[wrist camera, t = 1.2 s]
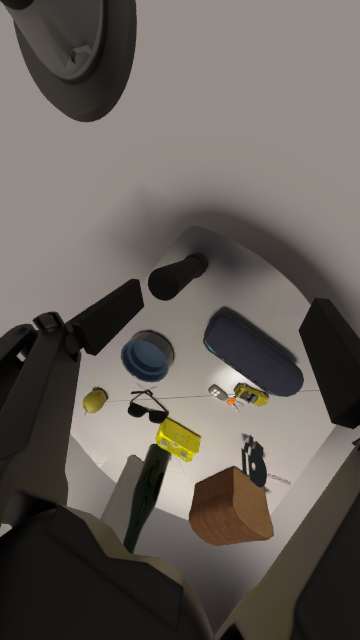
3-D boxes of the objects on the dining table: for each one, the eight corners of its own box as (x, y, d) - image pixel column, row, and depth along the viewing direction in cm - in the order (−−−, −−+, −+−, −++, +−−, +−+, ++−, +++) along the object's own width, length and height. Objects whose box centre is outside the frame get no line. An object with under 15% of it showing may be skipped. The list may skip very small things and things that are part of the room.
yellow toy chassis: (161, 421, 68) (153, 443, 61) (166, 415, 65) (158, 436, 58) (194, 441, 68) (190, 465, 60) (201, 435, 65) (197, 459, 58)
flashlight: (203, 249, 38) (184, 258, 40) (171, 252, 16) (134, 273, 18) (211, 269, 39) (192, 278, 41) (191, 297, 18) (154, 312, 20)
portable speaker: (199, 329, 46) (192, 349, 37) (221, 303, 42) (220, 318, 33) (269, 380, 47) (278, 411, 38) (299, 360, 42) (318, 389, 34)
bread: (192, 482, 81) (185, 532, 67) (231, 463, 67) (232, 521, 53) (222, 502, 81) (221, 555, 67) (267, 487, 67) (278, 551, 53)
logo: (271, 436, 52) (267, 480, 44) (291, 466, 57) (291, 511, 49) (223, 425, 63) (214, 458, 56) (244, 451, 68) (237, 485, 61)
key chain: (207, 389, 54) (206, 392, 53) (214, 383, 53) (214, 386, 51) (238, 411, 55) (238, 415, 54) (246, 406, 53) (246, 410, 52)
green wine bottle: (171, 460, 78) (138, 586, 49) (151, 454, 81) (108, 571, 52) (169, 446, 74) (132, 576, 45) (148, 441, 77) (100, 560, 48)
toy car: (262, 404, 51) (264, 413, 48) (232, 391, 52) (232, 398, 49) (271, 394, 49) (273, 402, 46) (239, 380, 50) (240, 388, 47)
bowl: (140, 321, 50) (130, 330, 45) (182, 347, 50) (176, 359, 45) (125, 353, 58) (115, 364, 52) (162, 376, 57) (155, 389, 52)
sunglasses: (169, 388, 59) (164, 400, 55) (169, 415, 65) (164, 427, 61) (127, 378, 63) (120, 388, 58) (131, 404, 69) (124, 415, 64)
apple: (111, 396, 68) (92, 419, 61) (107, 398, 74) (89, 421, 67) (96, 384, 67) (75, 406, 60) (94, 387, 73) (74, 409, 66)
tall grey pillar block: (128, 456, 88) (95, 527, 66) (134, 454, 85) (101, 526, 63) (147, 472, 89) (121, 545, 67) (153, 469, 87) (128, 546, 65)
